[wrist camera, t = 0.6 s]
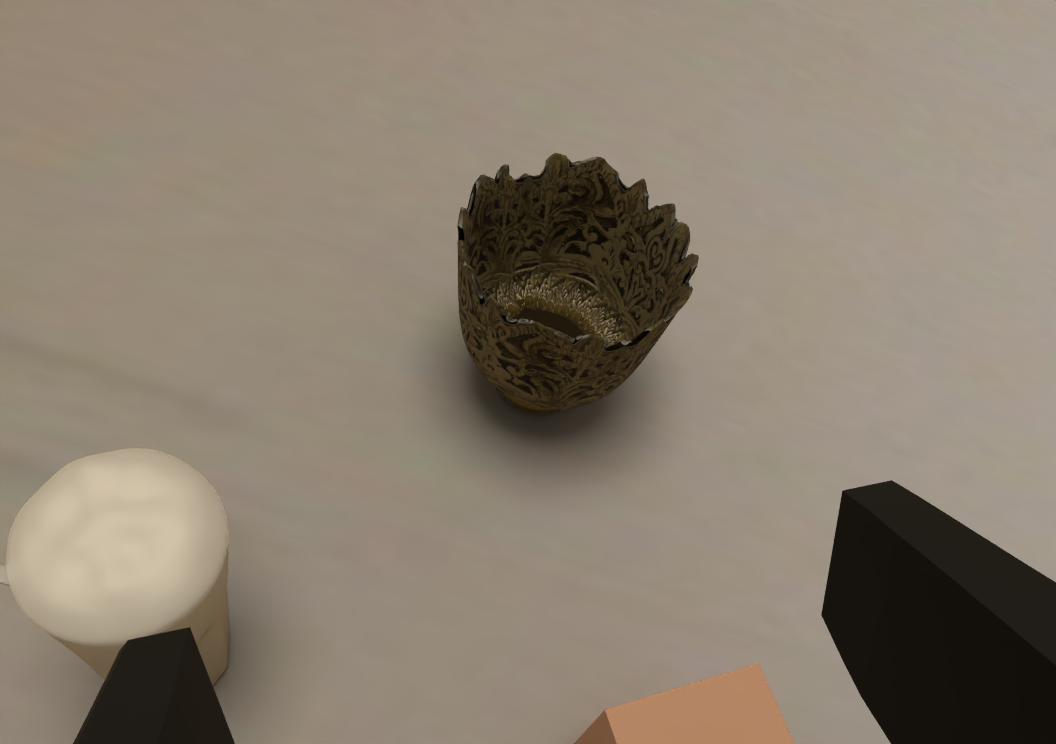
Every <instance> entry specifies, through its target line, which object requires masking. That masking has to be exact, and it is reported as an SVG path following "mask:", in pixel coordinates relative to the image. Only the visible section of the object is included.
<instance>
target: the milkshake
mask: <svg viewBox="0 0 1056 744" xmlns="http://www.w3.org/2000/svg"><path fill="white" fill-rule="evenodd" d="M228 548H229V528H228V521H227V516H226V513H225V510H224V507H223V504H222V502H221V500H220V498H219V496H218V494H217V492H216V491H215V489H214V488H213V487H212V485H211V484H210V483H209V482H208V480H207V479H206V478H205V477H204V476H203V475H201V474H200V473H199V472H198V471H196V470H195V469H194V468H192V467H191V466H189V465H188V464H186V463H185V462H183V461H181V460H180V459H178V458H176V457H174V456H171V455H169V454H167V453H164V452H161V451H157V450H152V449H144V448H131V449H122V450H116V451H111V452H106V453H100V454H95V455H90V456H86V457H83V458H80V459H77V460H75V461H73V462H71V463H69V464H67V465H66V466H64V467H63V468H62V469H60V470H59V471H58V472H57V473H56V474H54V475H53V476H52V477H51V478H50V479H49V480H48V481H47V482H46V483H45V484H44V485H43V486H42V487H41V488H40V489H39V490H38V491H37V492H36V493H35V494H34V495H33V496H32V497H31V498H30V499H29V500H28V501H27V502H26V503H25V505H24V506H23V507H22V508H21V510H20V511H19V513H18V515H17V516H16V518H15V520H14V523H13V525H12V528H11V531H10V534H9V538H8V544H7V553H6V565H3V564H0V583H1V584H5V585H8V586H10V588H11V590H12V593H13V595H14V598H15V600H16V602H17V603H18V605H19V607H20V608H21V610H22V611H23V612H24V614H25V615H26V616H27V617H28V618H29V619H30V620H31V621H32V622H33V623H34V624H36V625H37V626H38V627H40V628H41V629H43V630H44V631H45V632H47V633H48V634H49V635H51V636H52V637H53V638H55V639H56V640H57V641H59V642H60V643H62V644H63V645H64V646H66V647H67V648H68V649H70V650H71V651H72V652H74V653H75V654H76V655H77V656H79V657H80V658H81V659H82V660H83V661H84V662H86V663H87V664H88V665H89V666H90V667H91V668H92V669H93V670H94V671H96V672H97V673H98V674H99V675H100V676H101V677H102V678H103V679H106V677H107V675H108V673H109V671H110V669H111V667H112V665H113V663H114V661H115V659H116V656H117V654H118V652H119V650H120V649H121V648H122V647H123V645H124V644H125V643H126V642H127V640H130V639H135V638H140V637H144V636H149V635H154V634H159V633H164V632H168V631H173V630H178V629H183V628H188V627H190V628H191V631H192V634H193V636H194V639H195V641H196V644H197V647H198V649H199V652H200V654H201V657H202V660H203V662H204V665H205V667H206V670H207V673H208V675H209V678H210V680H211V683H212V686H213V685H214V684H215V683H216V681H217V680H218V679H219V678H220V676H221V675H222V674H223V672H224V671H225V670H226V669H227V667H228V651H229V636H230V625H229V608H228V592H227V579H228Z"/></svg>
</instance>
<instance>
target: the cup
mask: <svg viewBox="0 0 1056 744" xmlns="http://www.w3.org/2000/svg"><path fill="white" fill-rule="evenodd" d="M493 180H494V179H492V178H491V177H487V176H486V175H480V177H479V178H478V179H477V180H476V182H475V184H474V186H473V189H472V192H471V195H470V199H469V204H468V207H467V210H466V209H465V208H463V207H461V209H460V214H459V220H458V299H459V316H460V323H461V329H462V334H463V337H464V341H465V344H466V347H467V350H468V352H469V354H470V356H471V358H472V360H473V361H474V363H475V365H476V366H477V368H478V369H479V371H480V372H481V373H482V374H483V376H484V377H485V378H486V379H487V380H488V381H489V382H490V383H491V384H492V385H494V386H495V388H496V390H497V391H498V393H499V394H500V395H501V397H502V398H503V399H504V400H505V401H506V402H508V403H509V404H510V405H512V406H513V407H515V408H517V409H519V410H521V411H524V412H527V413H531V414H542V415H543V414H551V413H555V412H558V411H561V410H563V409H565V408H573V407H579V406H582V405H586V404H589V403H591V402H594V401H596V400H598V399H600V398H602V397H604V396H606V395H607V394H609V393H611V392H612V391H613V390H614V389H616V388H617V387H618V386H619V385H621V384H622V383H623V382H624V381H625V380H626V379H627V378H628V377H629V376H630V375H631V374H632V373H633V372H634V371H635V370H636V368H637V367H638V366H639V365H640V363H641V362H642V361H643V359H644V358H645V357H646V356H647V354H648V353H649V352H650V350H651V349H652V347H653V346H654V345H655V343H656V342H657V341H658V339H659V338H660V336H661V335H662V334H663V332H664V331H665V329H666V328H667V327H668V325H669V324H670V322H671V321H672V319H673V318H674V317H675V315H676V314H677V312H678V311H679V310H680V309H681V308H682V307H683V306H684V304H685V303H686V302H687V300H688V299H689V297H690V295H691V293H692V290H693V288H692V286H690V285H689V280H690V278H691V276H692V275H693V273H694V271H695V269H696V267H697V263H698V259H699V257H698V255H695V254H690V255H688V256H687V257H686V258H685V256H686V254H687V250H688V246H689V242H690V231H689V227H688V226H687V224H684V223H682V222H677V219H675V204H664V205H661V206H658V205H656V206H654V207H653V208H651V209H650V210H649V209H648V198H649V195H648V192H647V187H646V182H645V180H644V179H641V180H639V181H638V182H636V183H635V184H633V185H632V186H631V187H630V188H629V187H627V186H625V185H624V184H623V183H622V182H621V180H620V179H619V174H618V172H617V171H615V170H614V169H613V168H612V167H611V166H610V165H609V164H608V163H607V162H606V161H605V159H604V158H601V157H592V158H589V159H586V160H584V161H581V162H580V161H577V162H574V163H571V161H570V160H569V159H568V158H567V156H565V155H562V154H558V153H554V154H552V155H551V156H550V157H549V158H548V159H547V160H546V164H545V167H544V169H543V170H542V172H541V174H540V175H536V176H531V175H528V174H523V175H522V176H520V177H519V178H516V180H515V179H513V178H512V176H510V175H509V166H508V165H503V166H502V167H501V168H500V169H499V170H498V172H497V174H496V177H495V180H494V181H493Z"/></svg>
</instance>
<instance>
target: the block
mask: <svg viewBox="0 0 1056 744" xmlns="http://www.w3.org/2000/svg"><path fill="white" fill-rule="evenodd" d="M574 744H794V742H793V739H792V737H791V735H790V733H789V730H788V728H787V726H786V724H785V721H784V719H783V717H782V715H781V712H780V710H779V708H778V706H777V703H776V701H775V699H774V696H773V694H772V692H771V690H770V687H769V685H768V683H767V681H766V678H765V676H764V674H763V672H762V669H761V667H760V665H759V663H757V664H754V665H751V666H747V667H744V668H741V669H738V670H734V671H731V672H728V673H724V674H721V675H718V676H715V677H711V678H708V679H705V680H701V681H698V682H695V683H692V684H688V685H685V686H682V687H678V688H675V689H672V690H668V691H665V692H662V693H659V694H655V695H652V696H649V697H645V698H642V699H639V700H636V701H632V702H629V703H626V704H622V705H619V706H616V707H612V708H609V709H606V710H604V711H603V712H602V714H601V715H600V716H599V717H598V718H597V719H596V720H595V721H594V722H593V724H592V725H591V726H590V727H589V728H588V729H587V730H586V731H585V732H584V733H583V735H582V736H581V737H580V738H579V739H578V740H577V741H576V742H575V743H574Z"/></svg>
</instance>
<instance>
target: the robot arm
mask: <svg viewBox="0 0 1056 744" xmlns="http://www.w3.org/2000/svg"><path fill="white" fill-rule="evenodd" d="M822 617H823V619H824V621H825V624H826V626H827V628H828V630H829V632H830V634H831V636H832V638H833V641H834V643H835V645H836V647H837V649H838V651H839V653H840V655H841V658H842V660H843V662H844V664H845V666H846V668H847V670H848V672H849V674H850V676H851V677H852V679H853V681H854V683H855V685H856V687H857V689H858V691H859V693H860V695H861V697H862V699H863V700H864V702H865V703H866V705H867V707H868V708H869V710H870V711H871V713H872V715H873V716H874V718H875V719H876V721H877V722H878V724H879V725H880V727H881V729H882V730H883V732H884V733H885V735H886V736H887V738H888V740H889V741H890V743H891V744H1056V582H1054V581H1053V580H1051V579H1049V578H1048V577H1046V576H1044V575H1043V574H1041V573H1040V572H1038V571H1036V570H1035V569H1033V568H1031V567H1030V566H1028V565H1027V564H1025V563H1023V562H1022V561H1020V560H1019V559H1017V558H1015V557H1014V556H1012V555H1011V554H1009V553H1007V552H1006V551H1004V550H1003V549H1001V548H1000V547H998V546H996V545H995V544H993V543H992V542H990V541H988V540H987V539H985V538H984V537H982V536H981V535H979V534H977V533H976V532H974V531H973V530H971V529H969V528H968V527H966V526H965V525H963V524H962V523H960V522H958V521H957V520H955V519H954V518H952V517H951V516H949V515H947V514H946V513H944V512H943V511H941V510H939V509H938V508H936V507H935V506H933V505H931V504H930V503H928V502H927V501H925V500H923V499H922V498H920V497H919V496H917V495H915V494H914V493H912V492H910V491H909V490H907V489H905V488H904V487H902V486H900V485H899V484H897V483H895V482H893V481H892V480H891V481H887V482H882V483H877V484H872V485H867V486H863V487H858V488H853V489H848V490H844V491H842V497H841V503H840V509H839V515H838V520H837V526H836V532H835V538H834V544H833V550H832V556H831V562H830V568H829V573H828V579H827V585H826V591H825V597H824V603H823V609H822ZM73 744H235V743H234V740H233V738H232V735H231V733H230V730H229V727H228V725H227V722H226V719H225V717H224V714H223V712H222V709H221V706H220V704H219V701H218V699H217V696H216V693H215V691H214V688H213V686H212V683H211V680H210V678H209V675H208V673H207V670H206V667H205V665H204V662H203V660H202V657H201V654H200V652H199V649H198V647H197V644H196V641H195V639H194V636H193V634H192V631H191V628H190V627H188V628H183V629H178V630H173V631H168V632H164V633H159V634H154V635H149V636H144V637H140V638H135V639H130V640H127V642H126V643H125V644H124V645H123V647H122V648H121V649H120V650H119V652H118V654H117V656H116V659H115V661H114V663H113V665H112V667H111V669H110V671H109V673H108V675H107V677H106V679H105V681H104V683H103V685H102V687H101V689H100V691H99V693H98V696H97V698H96V700H95V702H94V704H93V706H92V708H91V710H90V712H89V714H88V716H87V718H86V720H85V721H84V723H83V725H82V727H81V729H80V731H79V733H78V735H77V737H76V739H75V741H74V743H73Z"/></svg>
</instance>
